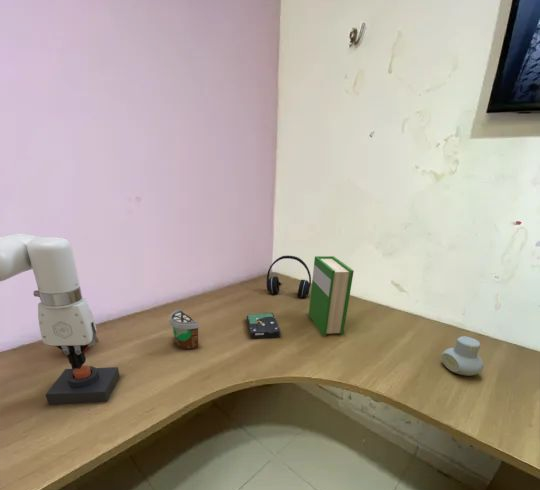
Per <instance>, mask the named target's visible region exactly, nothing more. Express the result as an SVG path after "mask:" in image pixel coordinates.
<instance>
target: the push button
mask: <svg viewBox="0 0 540 490" xmlns="http://www.w3.org/2000/svg"><path fill="white" fill-rule="evenodd" d="M89 366H90V365H87V364H83V365H82V367H81V368H80V369H77V368H75V369H74V370H73V374H74V377H75V379H83V378H86V377H88V376H90V375H91V370H90V367H89Z"/></svg>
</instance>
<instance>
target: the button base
mask: <svg viewBox="0 0 540 490" xmlns="http://www.w3.org/2000/svg"><path fill="white" fill-rule="evenodd" d="M88 366H89V367H90V370H91V375H90V376H88V377H86V378H83V379H75V377H74V374H73V370H74V369H72V368H65V369H64V370H63V372H62V373H61V374H60V375H59V376H58V377H57V379H56V380H55V381H54V382H53V384H52V386H51V387H50V388H49V389H48V391H46V392H45V397H46V400H47V403H48V405H50V406H51V405H52V406H53V405H74V404H75V405H77V404H92V403H107V402H108V401H109V399H110V397H111V395H112V393H113V391H114V389H115V387H116V385H117V383H118V382H119V380H120V378H121V375H120V371H119V367H118V366H111V367H95V366H92V365H88Z"/></svg>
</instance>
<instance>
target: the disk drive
mask: <svg viewBox="0 0 540 490" xmlns="http://www.w3.org/2000/svg"><path fill="white" fill-rule="evenodd" d="M246 323H247V326H248V331H249V336H250V338H251V339H265V338H267V339H268V338H269V339H270V338H280V337H281V328H280V326H279V324H278V322H277V320H276V317H275V315H274V312H259V313H247V315H246Z"/></svg>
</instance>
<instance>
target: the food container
mask: <svg viewBox="0 0 540 490" xmlns="http://www.w3.org/2000/svg"><path fill="white" fill-rule="evenodd" d="M169 325H170V326H171V327H172V332H173V336H174V342H175V346H176V347H177V348H178V349H181V350H194V349H199V328H200V325H199V321H198V320H193V319H192V318H191V316H190V315H188V314H186V313H185V312H184V311H183V310H182V308H178V309H176V310H174V311H172V313H171V314H170V316H169Z"/></svg>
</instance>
